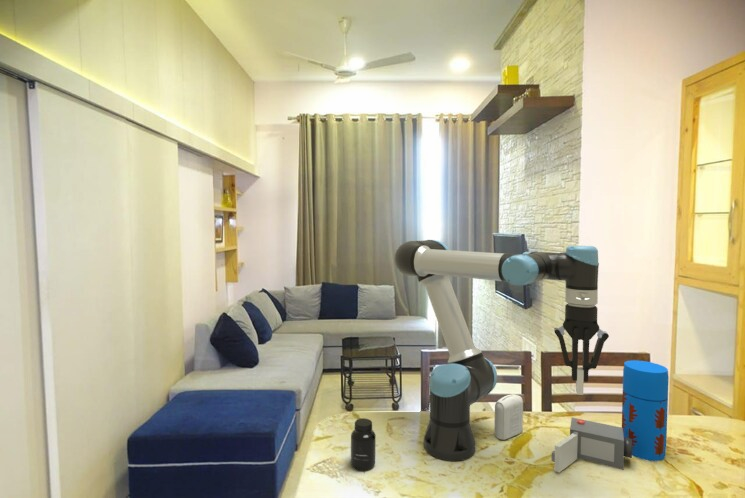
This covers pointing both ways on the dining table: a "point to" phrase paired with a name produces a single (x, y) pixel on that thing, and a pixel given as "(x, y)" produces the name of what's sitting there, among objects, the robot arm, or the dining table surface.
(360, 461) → the supplement bottle
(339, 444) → the dining table surface
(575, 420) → the camera body
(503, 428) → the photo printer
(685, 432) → the dining table surface
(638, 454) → the thermos
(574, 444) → the side door
